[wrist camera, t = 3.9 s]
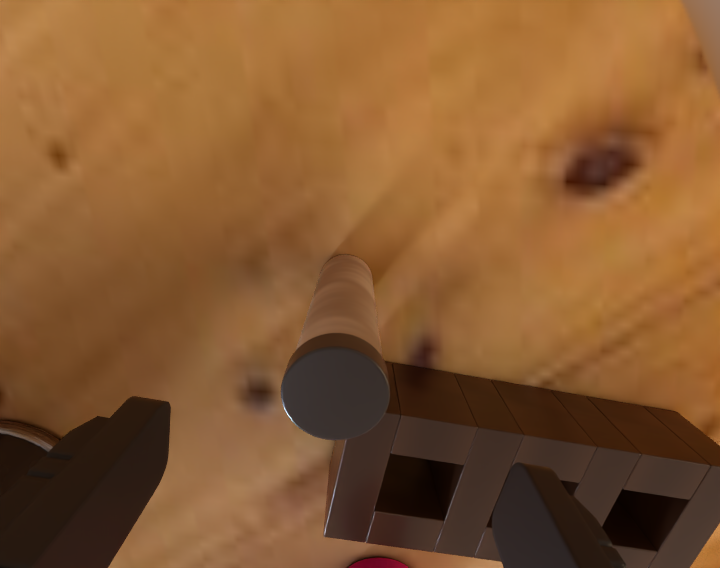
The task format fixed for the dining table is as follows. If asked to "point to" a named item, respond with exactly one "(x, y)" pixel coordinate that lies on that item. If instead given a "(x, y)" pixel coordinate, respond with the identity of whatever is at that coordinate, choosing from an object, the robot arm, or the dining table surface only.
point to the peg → (338, 357)
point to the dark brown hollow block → (525, 445)
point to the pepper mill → (378, 563)
